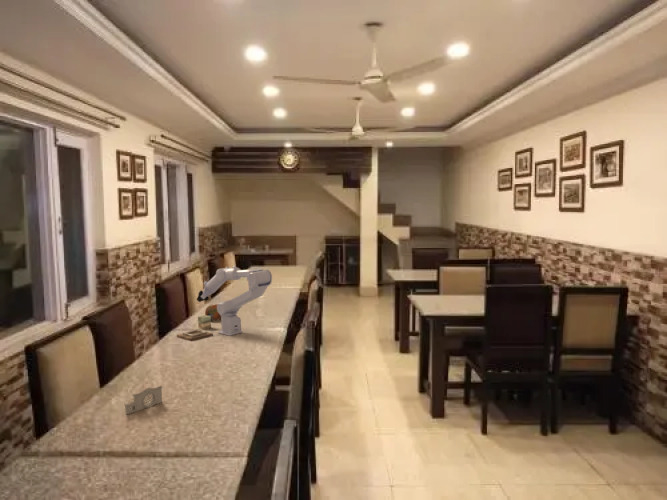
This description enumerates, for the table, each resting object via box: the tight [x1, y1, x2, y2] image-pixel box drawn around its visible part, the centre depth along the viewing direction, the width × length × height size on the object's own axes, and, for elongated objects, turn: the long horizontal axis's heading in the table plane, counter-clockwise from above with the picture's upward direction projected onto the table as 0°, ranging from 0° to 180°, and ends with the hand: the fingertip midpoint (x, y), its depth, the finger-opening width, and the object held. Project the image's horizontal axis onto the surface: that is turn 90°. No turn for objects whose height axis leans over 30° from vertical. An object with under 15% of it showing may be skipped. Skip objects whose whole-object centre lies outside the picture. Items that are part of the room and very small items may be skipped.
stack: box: [197, 314, 212, 331], centre depth 250 cm, size 4×4×6 cm
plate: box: [176, 329, 214, 342], centre depth 235 cm, size 12×12×2 cm
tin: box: [204, 303, 221, 322], centre depth 270 cm, size 15×3×8 cm, turn 143°
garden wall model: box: [123, 385, 163, 415], centre depth 151 cm, size 12×2×6 cm, turn 141°
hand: (202, 295), depth 252 cm, fingers open, 7 cm apart
